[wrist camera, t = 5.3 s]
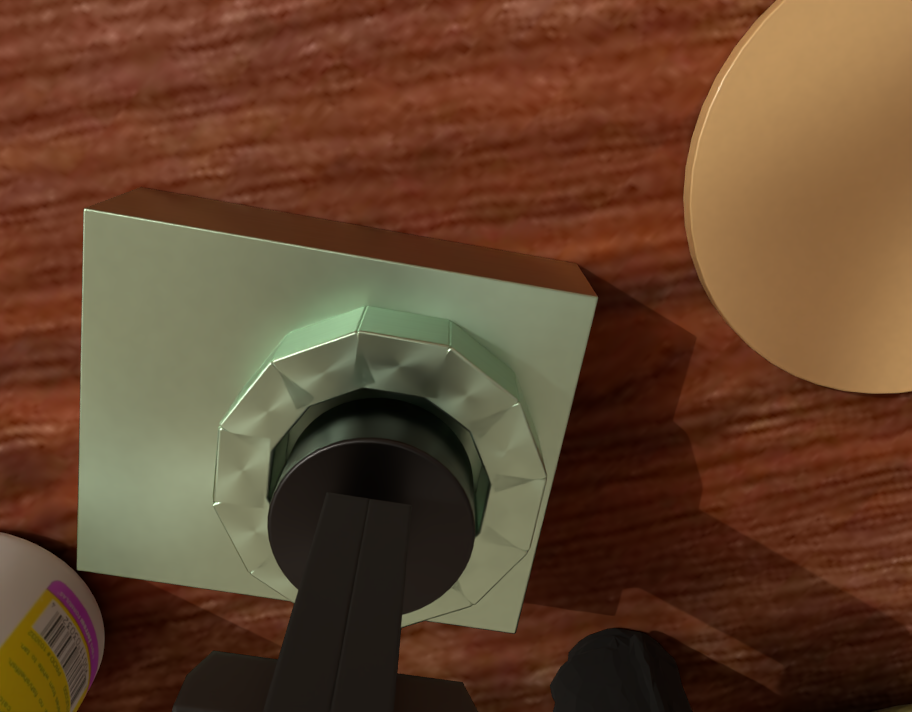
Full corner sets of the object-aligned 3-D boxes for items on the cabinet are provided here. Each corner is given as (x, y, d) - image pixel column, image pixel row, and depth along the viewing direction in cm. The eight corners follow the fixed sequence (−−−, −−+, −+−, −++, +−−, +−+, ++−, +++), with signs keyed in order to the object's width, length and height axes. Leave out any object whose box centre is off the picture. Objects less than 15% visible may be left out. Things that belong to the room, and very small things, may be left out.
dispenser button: (489, 412, 17) (493, 457, 15) (455, 573, 18) (455, 633, 16) (297, 381, 16) (277, 423, 14) (278, 546, 18) (256, 605, 16)
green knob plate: (577, 263, 20) (615, 322, 15) (507, 561, 23) (521, 686, 18) (139, 186, 20) (40, 223, 15) (126, 504, 23) (39, 618, 18)
